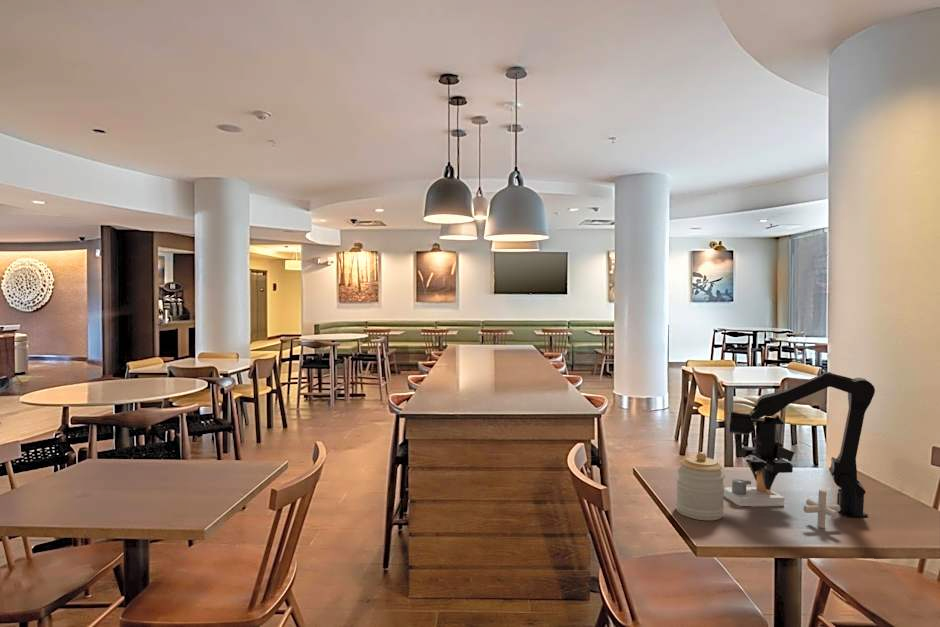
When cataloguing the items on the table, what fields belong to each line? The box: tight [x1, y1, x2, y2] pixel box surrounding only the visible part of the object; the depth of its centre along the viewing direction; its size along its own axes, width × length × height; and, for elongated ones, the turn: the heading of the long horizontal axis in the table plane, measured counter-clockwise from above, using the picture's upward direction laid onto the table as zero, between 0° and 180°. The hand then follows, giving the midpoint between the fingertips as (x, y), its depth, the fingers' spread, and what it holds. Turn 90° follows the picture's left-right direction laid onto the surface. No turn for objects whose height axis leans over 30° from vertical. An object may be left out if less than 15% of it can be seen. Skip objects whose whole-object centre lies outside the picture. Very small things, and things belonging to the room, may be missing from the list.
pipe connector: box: [802, 489, 840, 529], centre depth 165 cm, size 10×10×10 cm
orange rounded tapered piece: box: [755, 470, 772, 493], centre depth 185 cm, size 4×5×6 cm
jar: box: [675, 451, 726, 521], centre depth 173 cm, size 13×13×18 cm
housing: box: [724, 478, 785, 507], centre depth 185 cm, size 10×14×6 cm
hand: (763, 487), depth 185 cm, fingers closed on orange rounded tapered piece, 4 cm apart
